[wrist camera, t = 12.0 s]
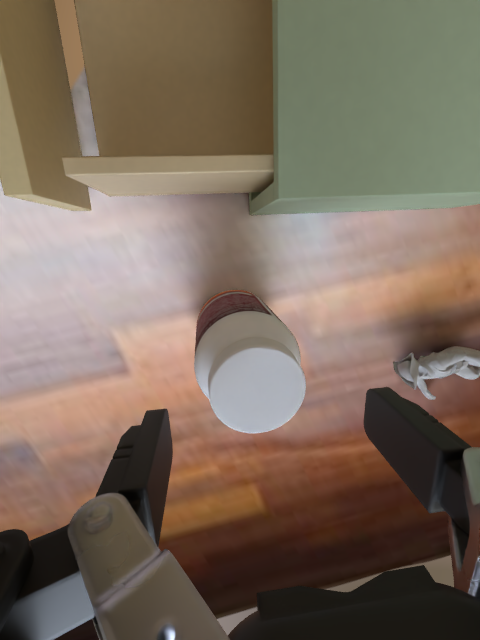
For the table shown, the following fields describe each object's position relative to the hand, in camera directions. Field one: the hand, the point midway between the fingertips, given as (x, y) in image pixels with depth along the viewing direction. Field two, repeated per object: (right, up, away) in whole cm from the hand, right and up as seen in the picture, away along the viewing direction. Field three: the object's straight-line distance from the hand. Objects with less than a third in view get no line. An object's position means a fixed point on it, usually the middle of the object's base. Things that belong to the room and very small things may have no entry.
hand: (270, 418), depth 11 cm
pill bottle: (-2, +4, +13) cm, 13 cm away
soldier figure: (+18, 0, +16) cm, 24 cm away
